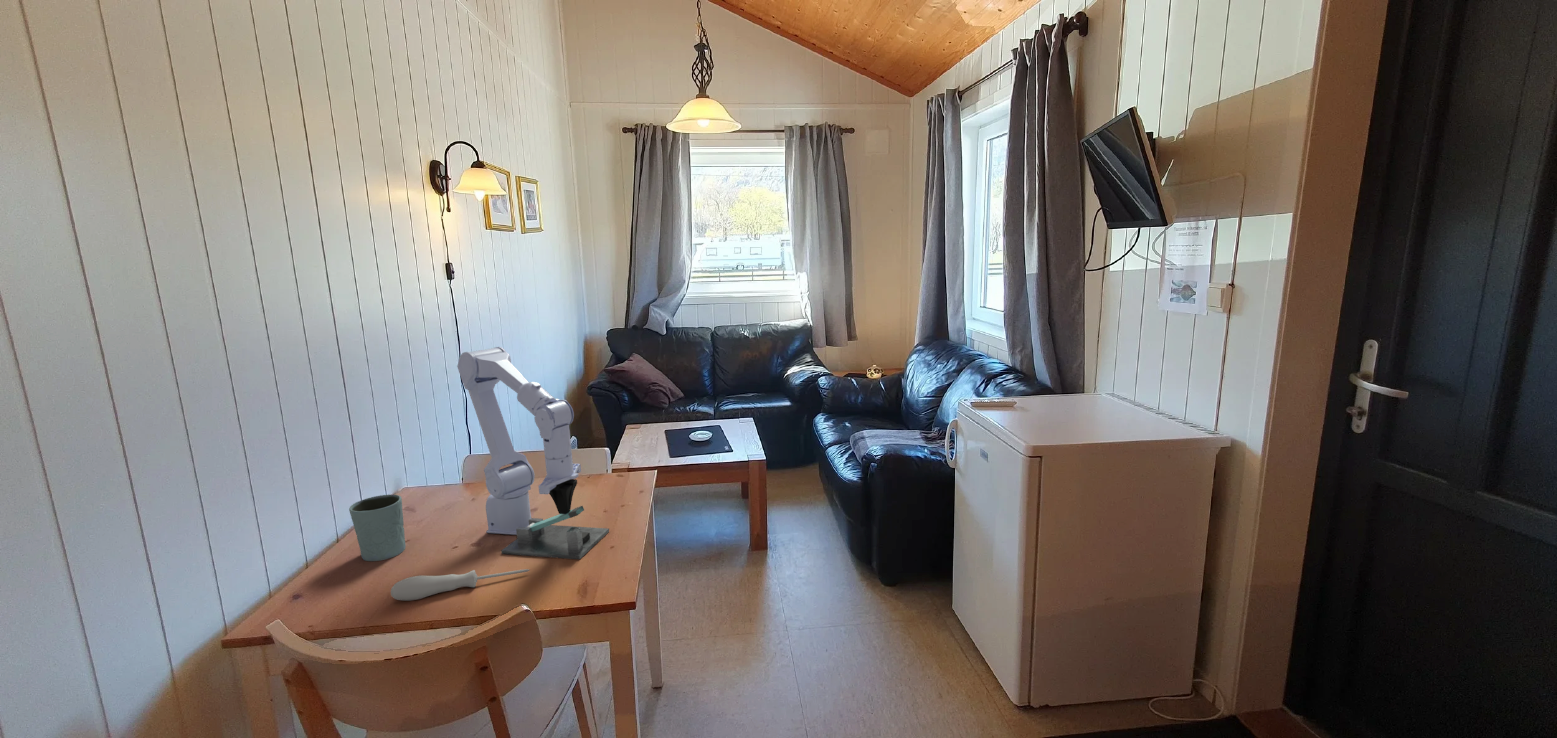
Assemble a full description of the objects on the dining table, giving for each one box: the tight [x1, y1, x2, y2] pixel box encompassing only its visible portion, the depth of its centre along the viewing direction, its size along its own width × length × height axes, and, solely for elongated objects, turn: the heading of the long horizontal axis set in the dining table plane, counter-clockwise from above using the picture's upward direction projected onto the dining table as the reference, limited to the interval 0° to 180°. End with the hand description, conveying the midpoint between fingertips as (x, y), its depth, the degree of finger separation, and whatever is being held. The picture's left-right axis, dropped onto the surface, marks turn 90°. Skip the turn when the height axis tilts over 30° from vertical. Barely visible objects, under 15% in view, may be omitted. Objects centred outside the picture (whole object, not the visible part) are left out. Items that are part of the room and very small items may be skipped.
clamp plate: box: [500, 517, 610, 560], centre depth 147 cm, size 19×14×6 cm
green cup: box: [348, 494, 407, 562], centre depth 144 cm, size 10×10×12 cm
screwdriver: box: [390, 568, 530, 602], centre depth 128 cm, size 5×25×4 cm, turn 112°
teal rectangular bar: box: [527, 505, 585, 532], centre depth 146 cm, size 15×3×2 cm, turn 78°
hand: (564, 512), depth 145 cm, fingers closed, pressing on teal rectangular bar
